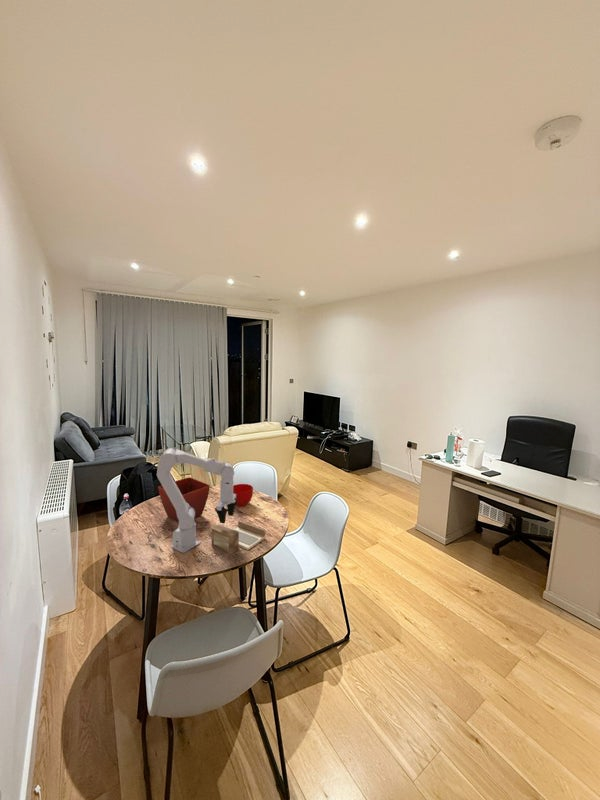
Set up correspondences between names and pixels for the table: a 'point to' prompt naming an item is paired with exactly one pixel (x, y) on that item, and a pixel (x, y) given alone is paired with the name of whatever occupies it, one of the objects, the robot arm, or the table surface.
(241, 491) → the ceramic cup
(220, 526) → the brown slab
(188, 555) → the table surface
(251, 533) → the tan rimmed flat piece
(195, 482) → the plant pot
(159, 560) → the table surface
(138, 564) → the table surface
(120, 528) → the table surface
